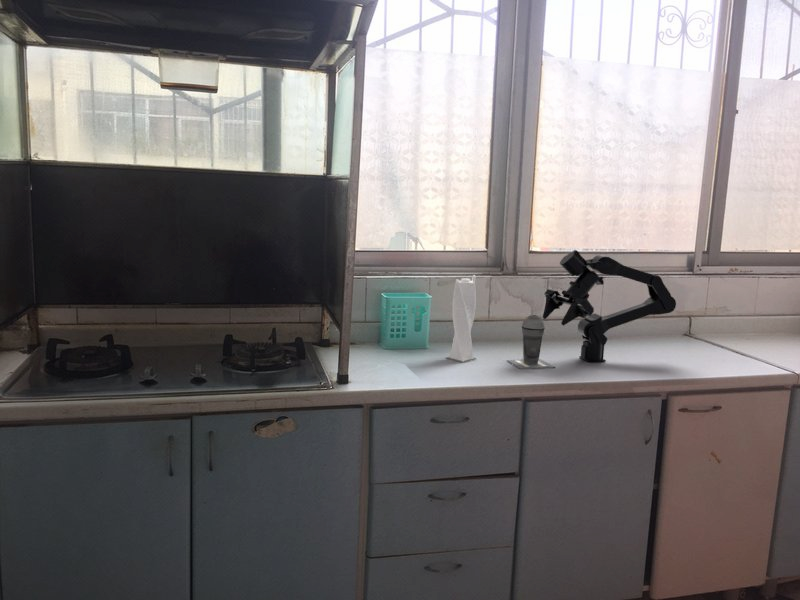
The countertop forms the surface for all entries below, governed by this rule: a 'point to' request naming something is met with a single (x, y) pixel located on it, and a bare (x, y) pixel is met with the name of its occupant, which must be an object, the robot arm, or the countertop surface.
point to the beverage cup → (532, 338)
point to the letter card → (522, 365)
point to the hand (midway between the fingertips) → (552, 321)
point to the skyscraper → (463, 319)
